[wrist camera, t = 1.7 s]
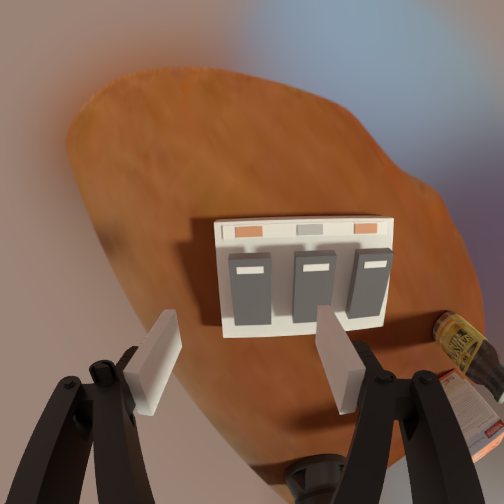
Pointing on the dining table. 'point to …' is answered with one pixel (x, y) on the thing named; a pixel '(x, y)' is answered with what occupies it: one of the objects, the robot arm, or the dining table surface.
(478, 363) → the sauce bottle
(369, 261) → the switch
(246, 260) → the switch
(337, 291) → the switch panel
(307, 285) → the switch middle
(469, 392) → the cracker box
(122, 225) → the dining table surface
